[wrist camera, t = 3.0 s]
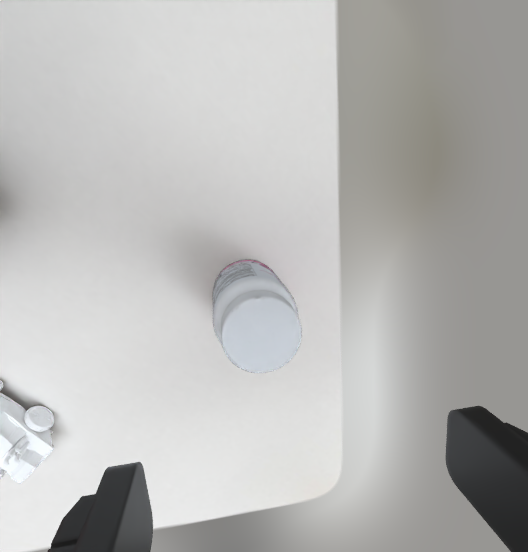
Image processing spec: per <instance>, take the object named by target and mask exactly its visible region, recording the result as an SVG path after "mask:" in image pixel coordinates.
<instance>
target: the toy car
mask: <svg viewBox="0 0 528 552" xmlns="http://www.w3.org/2000/svg"><path fill="white" fill-rule="evenodd" d="M2 388H3V382H2V381H1V380H0V390H1V389H2ZM53 423H54V415H53V413H52V412H51V411H50V410H49V409H48V408H46V407H43V406H33V407H31V408H29V410H27V411H26V410H25V409H24V408H23V407H22V406H21V405H19V404H18V403H16V402H15V401H13V400H12V399H11V398H9V397H7V396H5V395H4V394H2V393H0V479H1V478H2V477H3V476H4V474H5V473H7V474H9V475H11V479H12V480H14V481H16V482H17V483H19V484H21V483H22V482H23V481H24V480H25V479H26V478H27V477H28V476H29V475H30V474H31V473H32V472H33V471H34V470H35V469H36V468H37V467H38V465H39V464H40V463H41V462H42V461H43V460H44V459H45V458H46V457H47V456H48V455H49V454H50V453H51V452H52V451H53V450H54V448H53V447H54V446H53V445H52V439H51V435H52V434H53V433H54V432H53V431H51V430H50V427H51V426H52V425H53Z"/></svg>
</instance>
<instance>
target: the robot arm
mask: <svg viewBox="0 0 528 552" xmlns="http://www.w3.org/2000/svg"><path fill="white" fill-rule="evenodd" d="M446 465H447V468H448V471H449V474H450V476H451V478H452V480H453V482H454V483H455V485H456V486H457V487H458V489H459V490H460V491H461V492H462V493H463V494H464V496H465V497H466V498H467V499H468V500H469V502H470V503H471V504H472V505H473V507H474V508H475V509H476V510H477V511H478V513H479V514H480V515H481V516H482V517H483V519H484V520H485V521H486V522H487V523H488V525H489V526H490V527H491V528H492V529H493V531H494V532H495V533H496V534H497V535H498V537H499V538H500V539H501V540H502V541H503V542H504V544H505V545H506V546H507V547H508V548H509V550H510V551H511V552H528V433H527V432H525V431H523V430H521V429H519V428H517V427H515V426H512V425H510V424H508V423H503V422H502V421H501V420H499V419H498V418H497V417H496V416H494V415H493V414H492V413H490V412H489V411H488V410H487V409H485V408H483V407H481V406H475V407H469V408H463V409H457V410H452V411H450V413H449V415H448V423H447V443H446ZM152 534H153V520H152V511H151V505H150V500H149V495H148V490H147V485H146V480H145V475H144V470H143V466H142V464H141V462H137V463H131V464H125V465H119V466H113V467H108V468H107V469H106V470H105V472H104V474H103V477H102V480H101V482H100V485H99V487H98V490H97V492H96V494H94V495H88V496H82V497H81V498H80V500H79V501H78V502H77V503H76V504H75V505H74V506H73V508H72V509H71V510H70V511H69V512H68V513H67V515H66V516H65V517H64V518H63V520H62V522H61V524H60V526H59V528H58V530H57V533H56V535H55V537H54V539H53V541H52V543H51V549H49V550H48V552H150V550H151V543H152Z"/></svg>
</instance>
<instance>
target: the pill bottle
mask: <svg viewBox="0 0 528 552" xmlns="http://www.w3.org/2000/svg"><path fill="white" fill-rule="evenodd" d="M213 326H214V330H215V333H216V336H217V338H218V339H219V341H220V343H221V344H222V346H223V349H224V352H225V354H226V355H227V357H228V358H229V359H230V361H231V362H232V363H233V364H235V365H236V366H237V367H239V368H241V369H243V370H245V371H248V372H253V373H266V372H270V371H274V370H276V369H278V368H280V367H282V366H283V365H285V364H286V363H288V362H289V361H290V360H291V359H292V358H293V356H294V355H295V353H296V352H297V350H298V348H299V345H300V342H301V336H302V328H301V323H300V320H299V317H298V310H297V306H296V303H295V301H294V298H293V296H292V295H291V294H290V292H289V291H288V289H287V288H286V287H285V286H284V284H283V283H282V282H281V281H280V279H279V278H278V277H277V276H276V275H275V273H274V272H273V271H272V270H271V269H270V268H269V267H268V266H266V265H265V264H263V263H261V262H258V261H255V260H241V261H237V262H234V263H232V264H230V265H228V266H227V267H226V268H224V269H223V270H222V271H221V273H220V274H219V275H218V277H217V279H216V281H215V284H214V288H213Z"/></svg>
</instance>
